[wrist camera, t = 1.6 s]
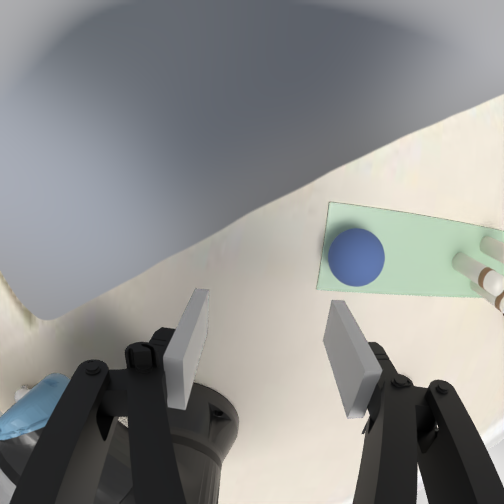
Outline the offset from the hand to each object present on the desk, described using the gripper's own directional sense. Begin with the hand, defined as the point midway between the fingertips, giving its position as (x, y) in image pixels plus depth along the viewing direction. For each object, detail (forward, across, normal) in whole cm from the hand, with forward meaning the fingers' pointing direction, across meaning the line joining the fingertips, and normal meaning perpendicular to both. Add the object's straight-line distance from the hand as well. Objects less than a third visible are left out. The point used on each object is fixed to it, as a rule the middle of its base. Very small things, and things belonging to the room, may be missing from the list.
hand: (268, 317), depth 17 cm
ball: (+14, -10, 0) cm, 17 cm away
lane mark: (+17, -22, 0) cm, 28 cm away
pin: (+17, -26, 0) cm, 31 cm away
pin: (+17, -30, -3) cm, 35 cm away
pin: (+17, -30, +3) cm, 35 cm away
